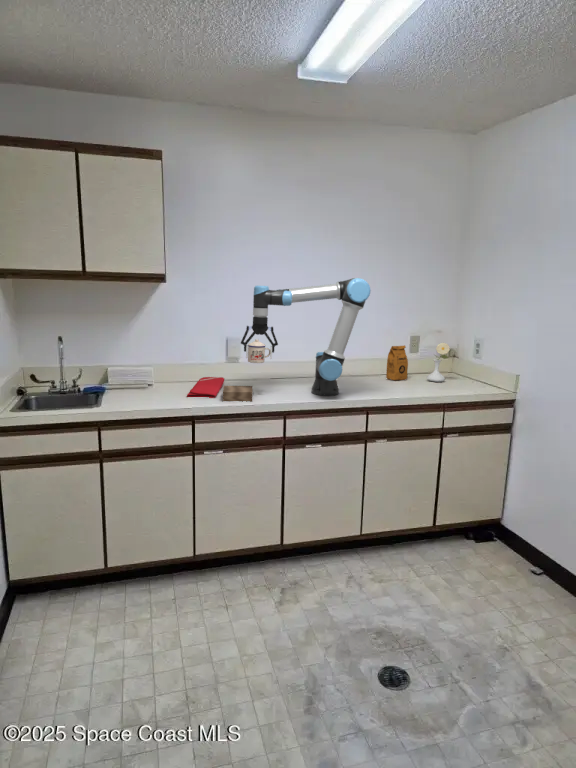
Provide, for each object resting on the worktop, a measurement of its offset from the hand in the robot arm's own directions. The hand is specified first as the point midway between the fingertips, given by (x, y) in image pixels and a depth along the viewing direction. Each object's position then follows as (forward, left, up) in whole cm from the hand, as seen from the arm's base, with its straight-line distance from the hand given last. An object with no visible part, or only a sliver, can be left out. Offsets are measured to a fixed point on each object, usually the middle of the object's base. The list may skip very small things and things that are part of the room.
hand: (258, 358), depth 265 cm
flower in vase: (-114, -49, -21) cm, 126 cm away
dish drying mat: (+28, -19, -22) cm, 41 cm away
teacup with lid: (0, 0, -2) cm, 2 cm away
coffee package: (-89, -53, -21) cm, 106 cm away
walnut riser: (+11, +1, -21) cm, 24 cm away
